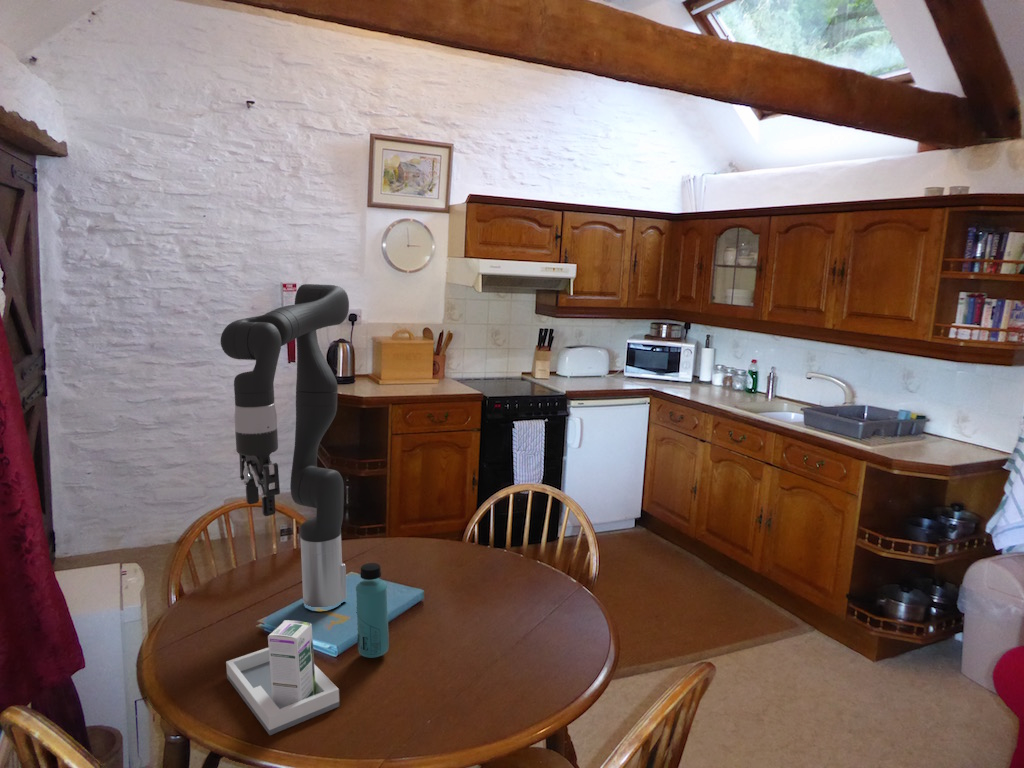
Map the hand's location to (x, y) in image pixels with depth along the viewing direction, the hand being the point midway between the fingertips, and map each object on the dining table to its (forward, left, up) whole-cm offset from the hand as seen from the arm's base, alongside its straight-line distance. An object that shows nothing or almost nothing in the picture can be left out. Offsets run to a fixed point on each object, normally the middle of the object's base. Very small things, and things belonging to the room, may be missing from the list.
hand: (260, 508), depth 138 cm
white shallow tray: (+2, +10, -33) cm, 35 cm away
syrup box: (+1, +16, -32) cm, 36 cm away
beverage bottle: (-18, +10, -33) cm, 39 cm away
